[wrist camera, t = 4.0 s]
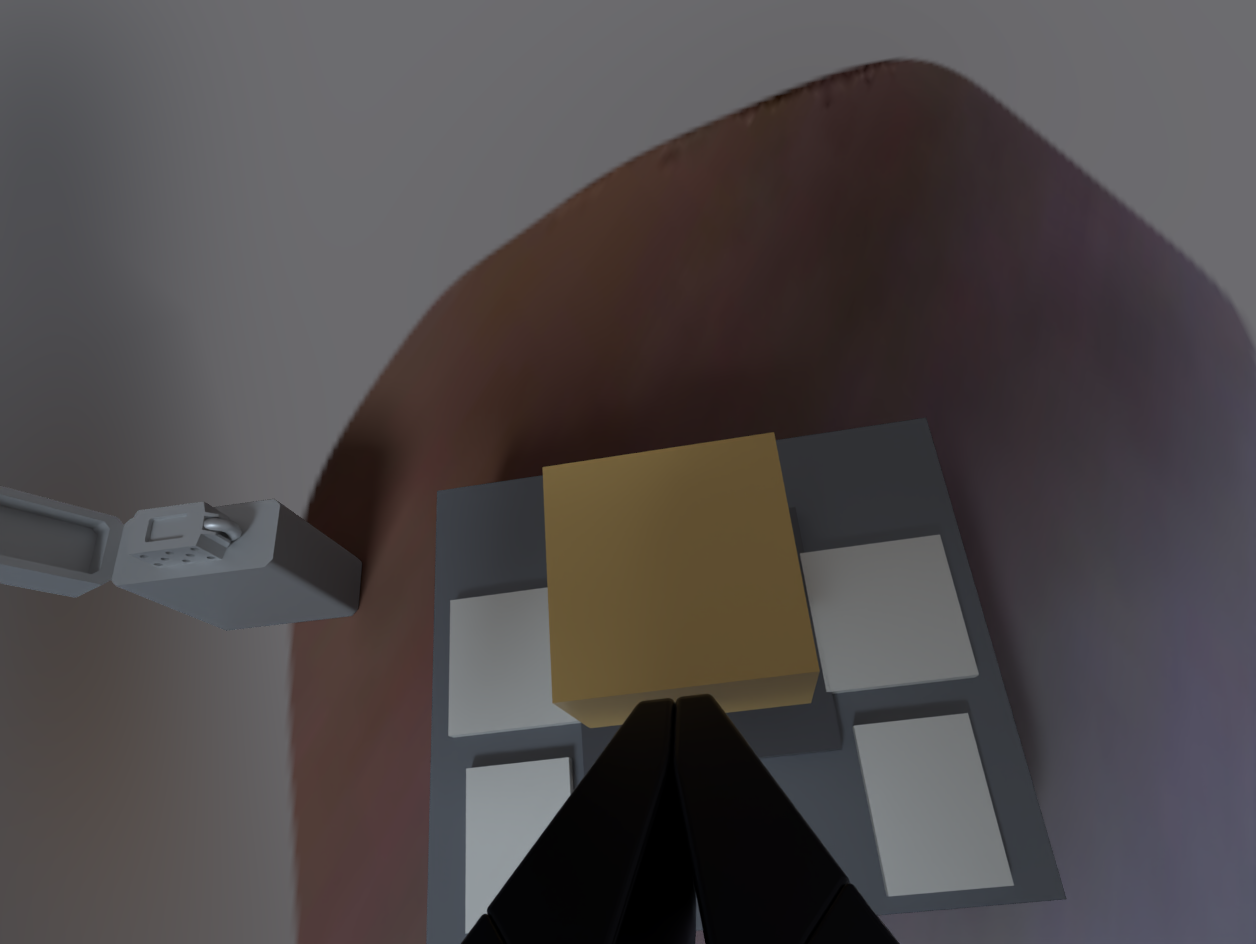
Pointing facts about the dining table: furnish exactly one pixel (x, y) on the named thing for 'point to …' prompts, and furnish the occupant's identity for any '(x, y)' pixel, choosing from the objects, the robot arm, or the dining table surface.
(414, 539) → the dining table surface
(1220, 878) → the dining table surface
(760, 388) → the dining table surface
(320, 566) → the lighter
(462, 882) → the keypad
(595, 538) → the key
